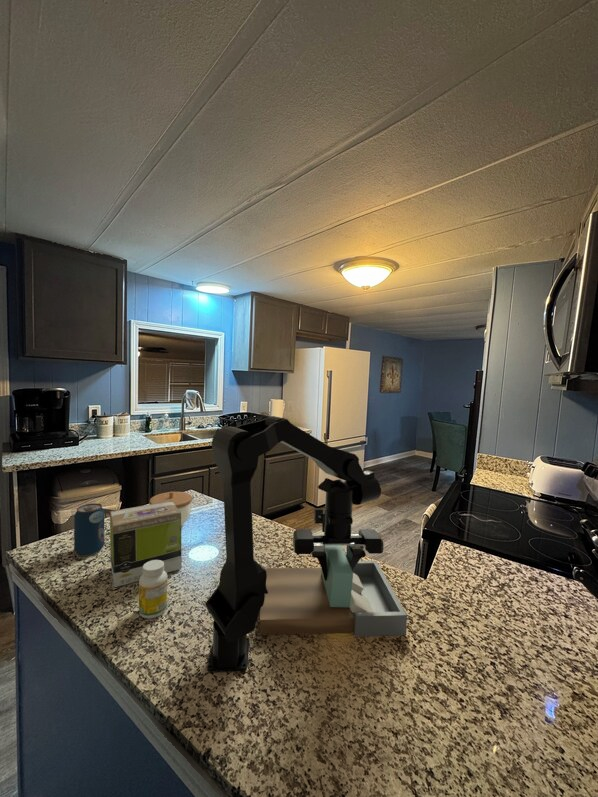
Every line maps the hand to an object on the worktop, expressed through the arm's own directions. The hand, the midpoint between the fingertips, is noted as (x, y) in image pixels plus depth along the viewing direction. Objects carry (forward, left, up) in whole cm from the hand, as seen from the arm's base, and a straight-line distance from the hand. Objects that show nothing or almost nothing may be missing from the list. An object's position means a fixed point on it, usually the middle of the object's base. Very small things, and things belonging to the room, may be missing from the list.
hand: (335, 579), depth 72 cm
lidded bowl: (+38, +46, -6) cm, 60 cm away
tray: (0, -7, -5) cm, 9 cm away
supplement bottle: (-1, +38, -6) cm, 38 cm away
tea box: (+14, +45, -6) cm, 47 cm away
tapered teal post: (0, 0, -2) cm, 2 cm away
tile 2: (-4, -4, -3) cm, 7 cm away
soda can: (+23, +63, -6) cm, 67 cm away
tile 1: (+4, -4, -3) cm, 7 cm away
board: (0, +7, -5) cm, 9 cm away
